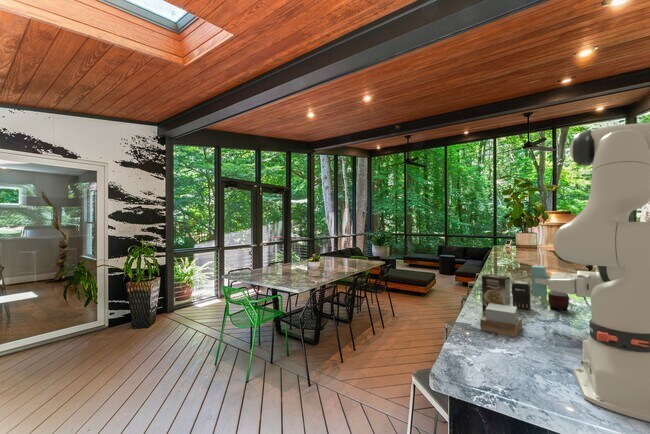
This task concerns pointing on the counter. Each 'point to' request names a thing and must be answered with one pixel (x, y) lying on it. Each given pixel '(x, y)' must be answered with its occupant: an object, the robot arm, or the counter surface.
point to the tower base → (501, 326)
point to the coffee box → (495, 290)
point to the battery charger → (521, 295)
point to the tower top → (501, 313)
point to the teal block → (537, 287)
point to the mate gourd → (558, 300)
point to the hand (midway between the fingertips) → (536, 279)
